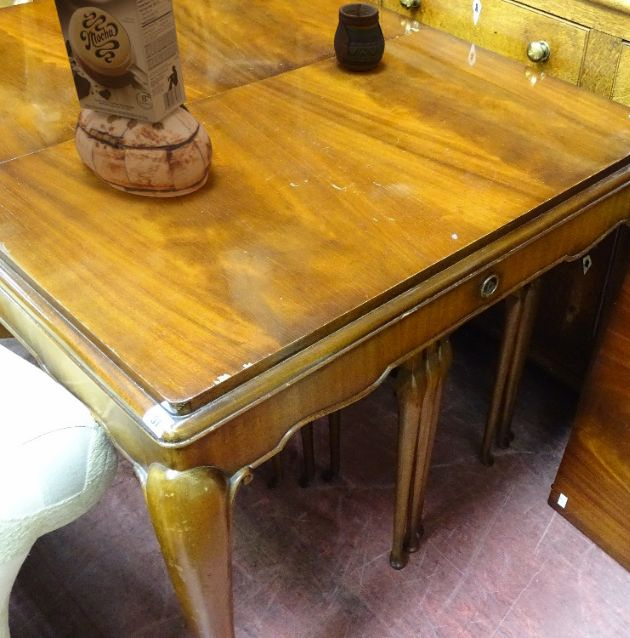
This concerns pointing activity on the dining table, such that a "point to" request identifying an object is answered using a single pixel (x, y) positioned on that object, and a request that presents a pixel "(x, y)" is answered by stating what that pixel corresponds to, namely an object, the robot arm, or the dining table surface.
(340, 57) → the mate gourd
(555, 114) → the dining table surface
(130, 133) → the trinket box
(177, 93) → the coffee box
